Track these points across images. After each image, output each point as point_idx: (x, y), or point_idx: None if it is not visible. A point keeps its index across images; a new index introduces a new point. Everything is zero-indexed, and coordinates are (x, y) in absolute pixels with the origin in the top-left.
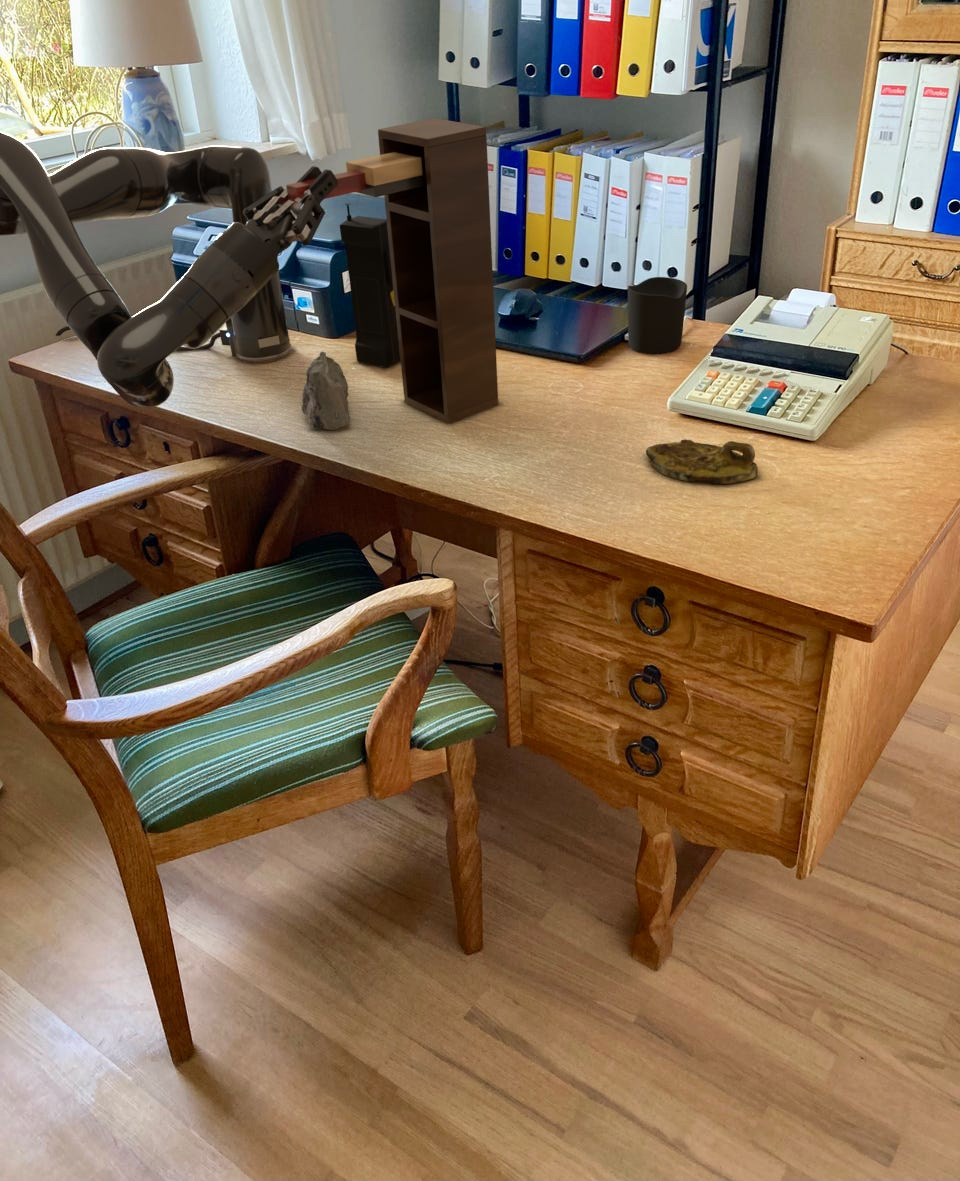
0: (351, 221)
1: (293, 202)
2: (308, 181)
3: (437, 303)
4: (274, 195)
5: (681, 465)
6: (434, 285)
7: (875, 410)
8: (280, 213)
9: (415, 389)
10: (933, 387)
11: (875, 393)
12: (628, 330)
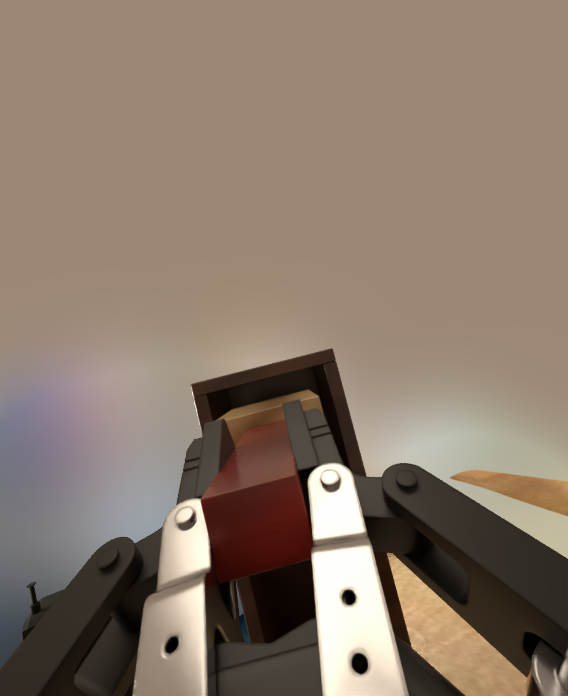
0: (44, 611)
1: (370, 543)
2: (242, 461)
3: (400, 635)
4: (105, 602)
5: None
6: (386, 602)
7: (539, 498)
8: (403, 679)
9: None
10: (505, 477)
11: (507, 493)
12: None
